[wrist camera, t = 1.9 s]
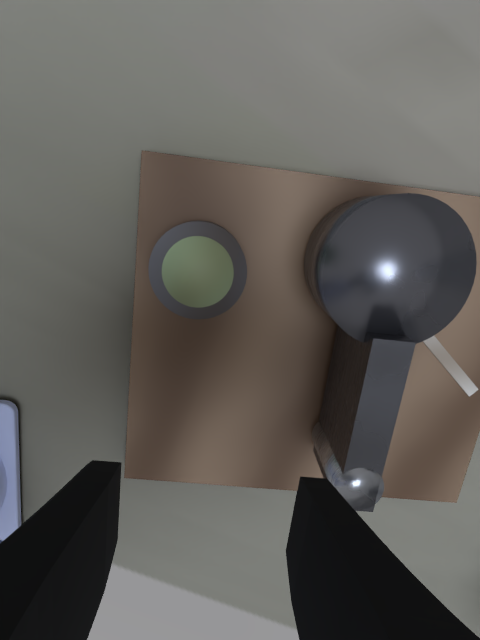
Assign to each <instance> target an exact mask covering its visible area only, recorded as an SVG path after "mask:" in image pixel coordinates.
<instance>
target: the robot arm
mask: <svg viewBox="0 0 480 640" xmlns="http://www.w3.org/2000/svg"><path fill="white" fill-rule="evenodd" d="M120 479H121V463H120V462H107V461H94V460H92V461H91V462H90V463H88V464H87V465H86V466H85V467H84V468H83V469H82V470H81V471H80V472H79V473H78V474H77V475H76V476H74V477H73V478H72V479H71V480H70V481H69V482H68V483H67V484H66V485H65V486H64V487H63V488H62V489H61V490H60V491H59V492H58V493H56V494H55V495H54V496H53V497H52V498H51V499H50V500H49V501H48V502H47V503H46V504H45V505H43V506H42V507H41V508H40V509H39V510H38V511H37V512H36V513H34V514H33V515H32V516H31V517H30V518H29V519H28V520H27V521H25V522H24V523H23V524H22V525H21V497H20V462H19V428H18V409H17V407H16V405H15V404H14V403H12V402H11V401H7V400H0V539H1V540H0V640H87V638H88V635H89V632H90V629H91V627H92V624H93V621H94V619H95V616H96V613H97V610H98V608H99V605H100V602H101V599H102V596H103V594H104V590H105V587H106V583H107V579H108V575H109V571H110V568H111V564H112V560H113V556H114V552H115V548H116V544H117V539H118V519H119V499H120ZM286 556H287V566H288V576H289V585H290V593H291V601H292V606H293V611H294V616H295V621H296V625H297V630H298V635H299V639H300V640H480V638H479V637H478V636H476V635H475V634H474V633H473V632H472V631H471V630H470V629H469V628H467V627H466V626H465V625H464V624H463V623H462V622H461V621H460V620H459V619H458V618H457V617H456V616H455V615H453V614H452V613H451V612H450V611H449V610H448V609H447V608H446V607H445V606H444V605H443V604H442V603H441V602H440V601H439V600H438V599H437V598H436V597H435V596H434V595H433V594H432V593H431V592H430V591H429V590H428V589H427V588H426V587H425V586H424V585H423V584H422V583H421V582H420V581H419V580H418V579H417V578H416V577H415V576H414V575H413V574H412V573H411V572H410V571H409V570H408V569H407V568H406V567H405V566H404V565H403V563H402V562H401V561H400V560H399V559H398V558H397V557H396V556H395V555H394V554H393V553H392V552H391V551H390V550H389V548H388V547H387V546H386V545H385V544H384V543H383V542H382V541H381V540H380V539H379V537H378V536H377V535H376V534H375V533H374V532H373V531H372V530H371V528H370V527H369V526H368V525H367V524H366V523H365V522H364V521H363V519H362V518H361V517H360V516H359V515H358V514H357V512H356V511H355V510H354V509H353V508H352V507H351V506H350V504H349V503H348V502H347V501H346V500H345V499H344V497H343V496H342V495H341V494H340V493H339V492H338V490H337V489H336V488H335V487H334V486H333V485H332V484H331V482H330V481H329V480H328V479H327V478H314V477H301V476H300V480H299V485H298V490H297V495H296V501H295V506H294V511H293V516H292V522H291V527H290V532H289V537H288V543H287V548H286Z"/></svg>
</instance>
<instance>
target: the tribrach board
mask: <svg viewBox="0 0 480 640" xmlns="http://www.w3.org/2000/svg"><path fill="white" fill-rule="evenodd" d="M402 193H415V194H422V195H427V196H431V197H433V198H436V199H438V200H440V201H442V202H444V203H446V204H447V205H449V206H450V207H451V208H452V209H454V210H455V211H456V212H457V213H458V214H459V215H460V216H461V217H462V219H463V220H464V222H465V223H466V225H467V226H468V228H469V230H470V232H471V234H472V237H473V241H474V244H475V249H476V260H477V265H476V275H475V279H474V284H473V287H472V289H471V292H470V295H469V297H468V299H467V301H466V303H465V304H464V306H463V307H462V309H461V311H460V312H459V313H458V314H457V316H456V317H455V318H454V319H453V320H452V321H451V322H450V323H449V324H448V325H447V326H446V327H445V328H444V329H442V330H441V331H440V332H439V333H437V334H435V335H434V336H432V337H431V338H429V339H427V340H425V341H422V342H420V343H417V344H416V345H415V349H414V353H413V357H412V361H411V365H410V368H409V372H408V376H407V380H406V384H405V388H404V392H403V396H402V400H401V404H400V408H399V412H398V415H397V419H396V423H395V427H394V431H393V435H392V439H391V443H390V447H389V451H388V455H387V459H386V462H385V466H384V470H383V474H382V479H383V482H384V492H383V495H382V497H387V498H400V499H414V500H427V501H441V502H454V503H457V500H458V497H459V493H460V490H461V487H462V484H463V481H464V478H465V475H466V472H467V468H468V465H469V462H470V459H471V456H472V453H473V450H474V447H475V443H476V440H477V437H478V434H479V431H480V197H477V196H470V195H463V194H456V193H448V192H441V191H434V190H426V189H419V188H412V187H405V186H397V185H390V184H383V183H375V182H368V181H361V180H353V179H346V178H339V177H332V176H324V175H317V174H310V173H302V172H295V171H288V170H281V169H273V168H266V167H259V166H251V165H244V164H237V163H230V162H222V161H215V160H208V159H200V158H193V157H186V156H179V155H171V154H164V153H157V152H149V151H142V154H141V173H140V192H139V211H138V230H137V249H136V268H135V286H134V305H133V324H132V343H131V362H130V381H129V400H128V418H127V437H126V456H125V475H124V478H132V479H146V480H159V481H172V482H186V483H199V484H213V485H226V486H240V487H253V488H266V489H280V490H293V491H297V490H298V485H299V480H300V476H301V477H314V478H323V475H322V473H321V470H320V467H319V465H318V462H317V460H316V457H315V454H314V452H313V448H314V443H313V440H312V430H313V428H314V426H315V425H316V423H317V422H318V421H319V417H320V412H321V407H322V402H323V397H324V392H325V387H326V382H327V377H328V371H329V366H330V361H331V356H332V351H333V346H334V341H335V336H336V331H337V326H338V324H337V323H336V322H335V321H334V320H333V319H332V318H331V317H330V316H329V315H328V314H327V313H326V312H325V311H324V310H323V309H322V308H321V307H320V306H319V305H318V304H317V303H316V302H315V300H314V299H313V297H312V295H311V294H310V291H309V289H308V287H307V284H306V280H305V275H304V256H305V251H306V247H307V244H308V241H309V239H310V237H311V235H312V233H313V231H314V229H315V228H316V226H317V225H318V224H319V222H320V221H321V220H322V219H323V218H324V217H325V216H326V215H327V214H328V213H329V212H330V211H331V210H333V209H334V208H336V207H337V206H339V205H341V204H343V203H345V202H347V201H349V200H352V199H355V198H360V197H366V196H378V195H390V194H402Z"/></svg>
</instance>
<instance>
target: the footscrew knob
mask: <svg viewBox="0 0 480 640" xmlns="http://www.w3.org/2000/svg"><path fill="white" fill-rule="evenodd" d="M476 265H477V260H476V249H475V244H474V241H473V237H472V234H471V232H470V230H469V228H468V226H467V225H466V223H465V222H464V220H463V219H462V217H461V216H460V215H459V214H458V213H457V212H456V211H455V210H454V209H452V208H451V207H450V206H449V205H447V204H446V203H444V202H442V201H440V200H438V199H436V198H433V197H431V196H427V195H422V194H415V193H402V194H390V195H378V196H366V197H360V198H355V199H352V200H349V201H347V202H345V203H343V204H341V205H339V206H337V207H336V208H334V209H333V210H331V211H330V212H329V213H328V214H327V215H326V216H325V217H324V218H323V219H322V220H321V221H320V222H319V224H318V225H317V226H316V228H315V229H314V231H313V233H312V235H311V237H310V239H309V241H308V244H307V247H306V251H305V256H304V275H305V280H306V284H307V287H308V289H309V291H310V294H311V295H312V297H313V299H314V300H315V302H316V303H317V304H318V305H319V306H320V307H321V308H322V309H323V310H324V311H325V312H326V313H327V314H328V315H329V316H330V317H331V318H332V319H333V320H334V321H335V322H336V323H337V324H338V326H337V331H336V336H335V341H334V346H333V351H332V356H331V361H330V366H329V371H328V377H327V382H326V387H325V392H324V397H323V402H322V407H321V412H320V417H319V421H318V422H317V423H316V425H315V426H314V428H313V430H312V440H313V443H314V448H313V452H314V454H315V457H316V460H317V462H318V465H319V467H320V470H321V473H322V475H323V478H327V479H328V480H329V481H330V482H331V484H332V485H333V486H334V487H335V488H336V489H337V490H338V492H339V493H340V494H341V495H342V496H343V497H344V499H345V500H346V501H347V502H348V503H349V504H350V506H351V507H352V508H353V509H354V510H355V511H368V512H373V509H374V506H375V504H376V503H377V502H378V501H379V500H380V498H381V497H382V495H383V492H384V482H383V479H382V474H383V470H384V466H385V462H386V459H387V455H388V451H389V447H390V443H391V439H392V435H393V431H394V427H395V423H396V419H397V415H398V412H399V408H400V404H401V400H402V396H403V392H404V388H405V384H406V380H407V376H408V372H409V368H410V365H411V361H412V357H413V353H414V349H415V345H416V344H417V343H420V342H422V341H425V340H427V339H429V338H431V337H432V336H434V335H435V334H437V333H439V332H440V331H441V330H442V329H444V328H445V327H446V326H447V325H448V324H449V323H450V322H451V321H452V320H453V319H454V318H455V317H456V316H457V314H458V313H459V312H460V311H461V309H462V307H463V306H464V304H465V303H466V301H467V299H468V297H469V295H470V292H471V289H472V287H473V284H474V279H475V275H476Z"/></svg>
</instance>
